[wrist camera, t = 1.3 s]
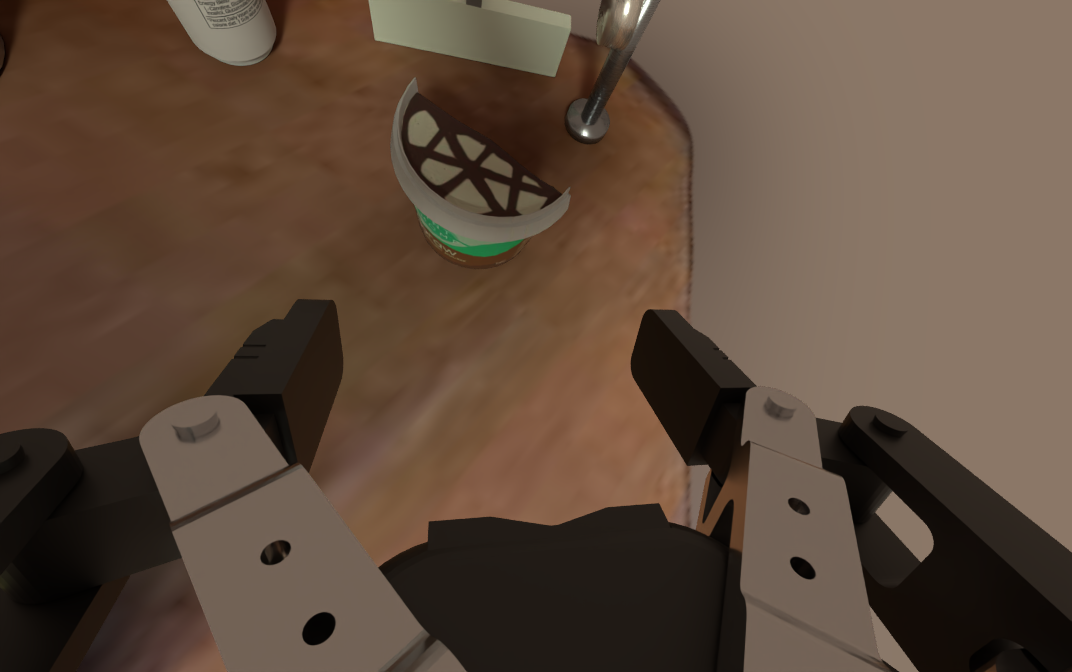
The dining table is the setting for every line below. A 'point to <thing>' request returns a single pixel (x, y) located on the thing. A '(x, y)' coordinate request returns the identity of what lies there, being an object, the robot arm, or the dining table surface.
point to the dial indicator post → (609, 64)
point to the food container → (467, 187)
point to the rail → (476, 31)
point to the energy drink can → (228, 28)
